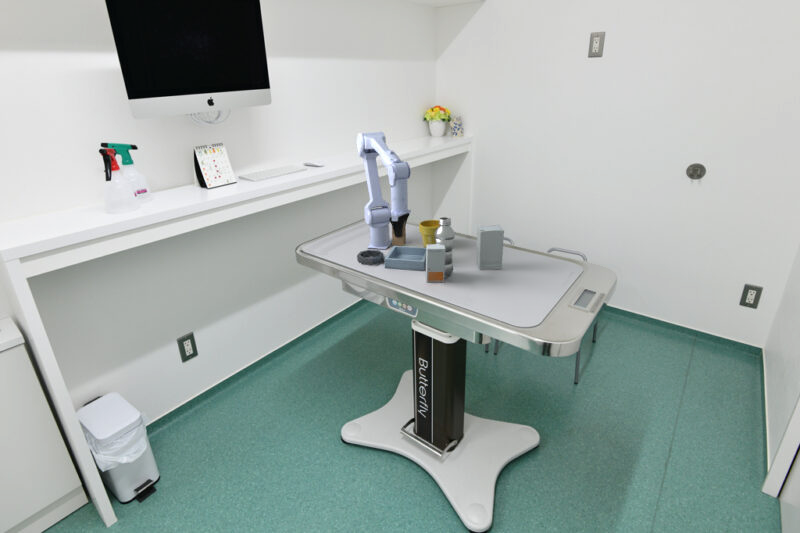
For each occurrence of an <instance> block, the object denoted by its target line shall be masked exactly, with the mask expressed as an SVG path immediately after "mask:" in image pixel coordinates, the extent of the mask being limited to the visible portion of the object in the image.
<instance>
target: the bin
mask: <svg viewBox="0 0 800 533" xmlns="http://www.w3.org/2000/svg"><path fill="white" fill-rule="evenodd" d="M426 249H427V248H425V247H424V246H423V247H422V246H421V247H420V246H407V245H404V246H392V248H391V249H390V251H389V252H388V253H387V255H386V256H385V257H384V269H390V270H391V269H393V270H404V271H405V270H406V271H418V272H424V270H426Z"/></svg>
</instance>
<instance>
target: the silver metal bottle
mask: <svg viewBox="0 0 800 533" xmlns="http://www.w3.org/2000/svg"><path fill="white" fill-rule="evenodd" d="M438 220H439V224H440V226H439V227H438V229H437V230H436V232H435V241H436V244H440V245H445V249H446V251H445V273H444V278H445V277H450V276H451V275H452V274H453V271H454V263H453V247H454V242H455V236H456V233H455V230H454V229H453V228H452V226H451V225H452V218H451V217H445V216H444V217H440V218H439V219H438Z"/></svg>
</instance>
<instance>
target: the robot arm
mask: <svg viewBox="0 0 800 533" xmlns="http://www.w3.org/2000/svg"><path fill="white" fill-rule="evenodd" d="M385 135H386V134H385V133H384V132H383V131H378V132H377V131H376V132H359V133H358V134H357V137H356V147H357V152H358V157H360V158H362V161H363V166H364V172H365V178H366V184H367V190H368V196H369V201H368V202H367V203H366V205H365V206H364V207H363V208H364V221H365V224H367V225H368V226H369V244H368V246H366V248H367V249H373V250H378V249H379V250H387V249H388V248H389V246H390V245H392V240H391V239H390V238H391V237H390V226H389V225H391V228H392V227H393V230H394V234H395V237H401V236H402V231H403V225H404V222H406V223H407V222H408V218H409V217H410V214H411V212H412V210H411V209H409V208H408V179H409V178H410V176H411V167H410V166H411V165H410V164H409V162H408V161H404V160H401V159H400V157H399V156H398V155H397V153H396V151H394V150H392V149H390V148H389V147H388V146H387V144H386V143H387V141H386V136H385ZM379 156H380V162H381V163H382V165H383V166H384V167H385V169H386V170H387V177H388V183H389V185H390V202H388V201H386V200H385V199H383V194H382V189H381V181H380V176H379V169H378V163H377V157H379ZM390 203H391V204H390Z"/></svg>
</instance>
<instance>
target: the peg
mask: <svg viewBox="0 0 800 533" xmlns="http://www.w3.org/2000/svg"><path fill="white" fill-rule="evenodd" d="M406 226H407V222H404V225H403V231H402V236H401V237H395V234H394V230H393V227H392V226H391V233H392V234H391V235H392V236H391V237H392V238H391V239H392V240H391V241H392V242H391V245H392V247H393V246H406V245H405V244H406V242H407V241H406V240H407V238H406V236H407V234H406Z"/></svg>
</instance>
